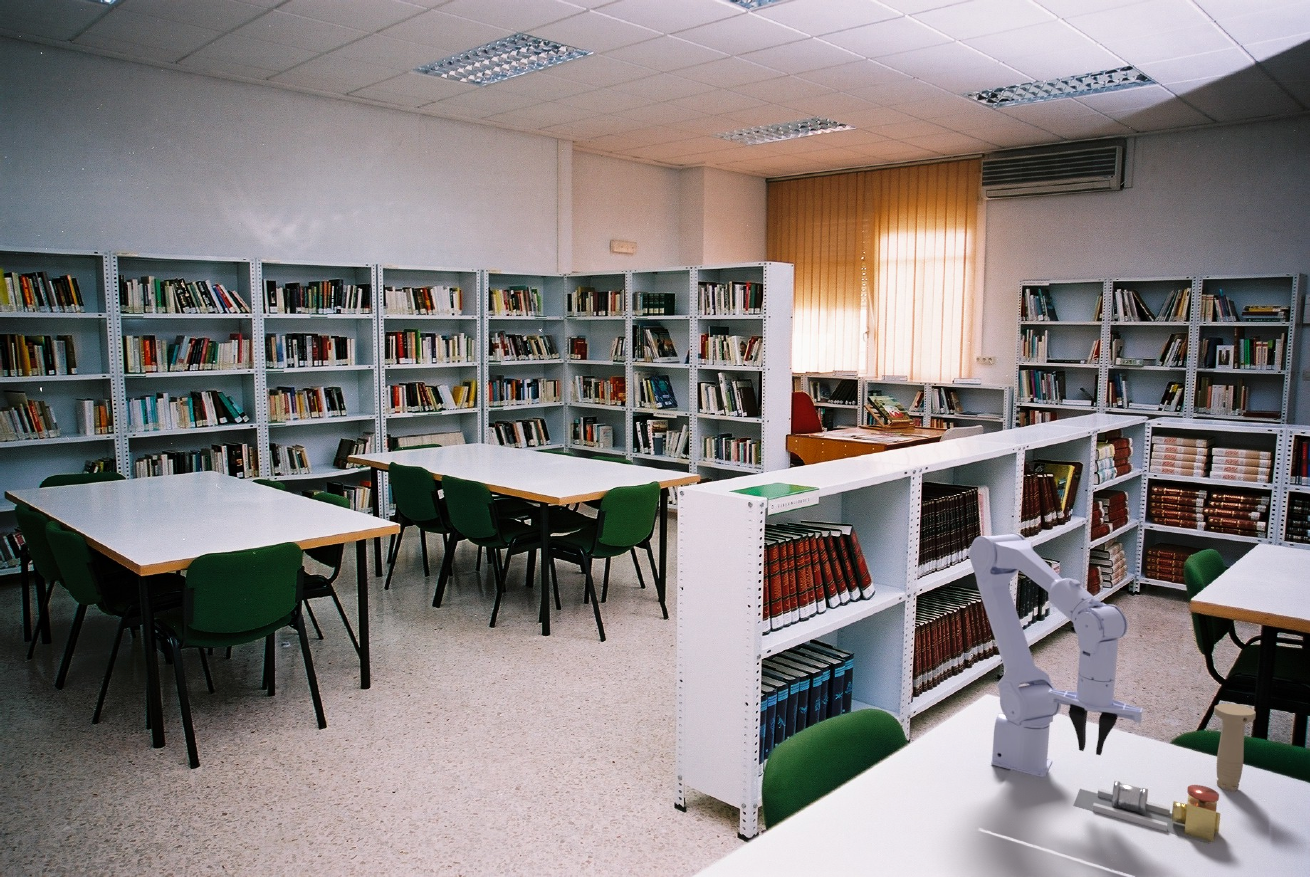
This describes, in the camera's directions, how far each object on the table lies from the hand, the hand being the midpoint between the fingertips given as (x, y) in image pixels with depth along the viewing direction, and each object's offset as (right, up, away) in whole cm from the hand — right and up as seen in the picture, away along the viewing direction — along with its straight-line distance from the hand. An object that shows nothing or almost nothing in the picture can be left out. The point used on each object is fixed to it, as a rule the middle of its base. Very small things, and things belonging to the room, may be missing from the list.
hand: (1090, 750), depth 155 cm
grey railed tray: (+7, -10, -3) cm, 13 cm away
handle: (+28, -9, +7) cm, 30 cm away
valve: (+14, -11, -8) cm, 19 cm away
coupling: (+5, -9, -2) cm, 11 cm away
